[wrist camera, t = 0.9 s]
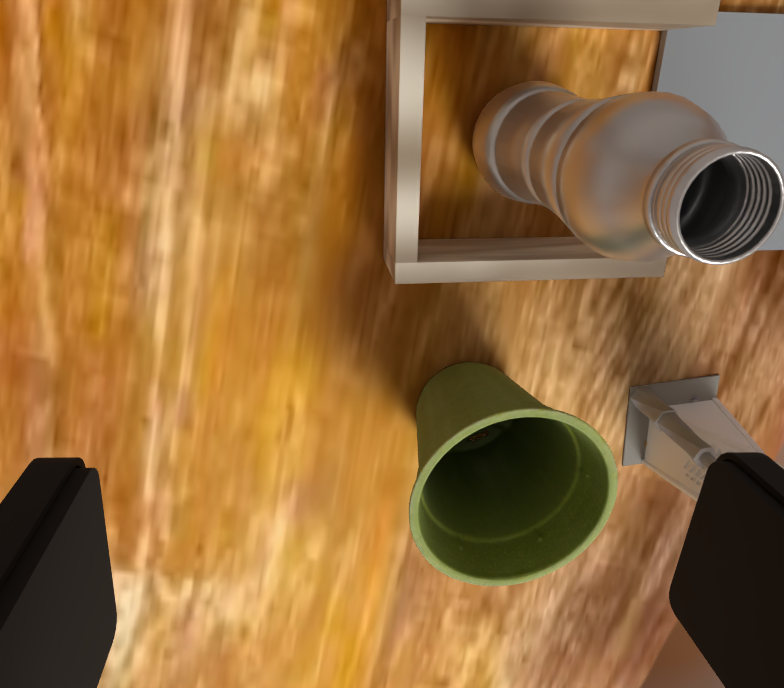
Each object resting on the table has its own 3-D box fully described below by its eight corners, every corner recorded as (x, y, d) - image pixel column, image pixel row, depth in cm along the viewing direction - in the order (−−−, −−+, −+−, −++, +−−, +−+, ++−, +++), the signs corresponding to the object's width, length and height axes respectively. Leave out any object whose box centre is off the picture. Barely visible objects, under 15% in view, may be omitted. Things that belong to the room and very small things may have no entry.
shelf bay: (387, -4, 33) (401, -15, 28) (666, 6, 35) (720, -2, 31) (383, 258, 39) (395, 283, 34) (622, 253, 41) (663, 276, 36)
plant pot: (577, 385, 45) (660, 479, 35) (469, 497, 48) (517, 614, 37) (458, 293, 40) (513, 369, 30) (348, 422, 43) (364, 531, 33)
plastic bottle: (503, 55, 35) (724, 44, 17) (592, 119, 37) (873, 170, 19) (442, 158, 37) (584, 247, 19) (530, 213, 39) (734, 340, 21)
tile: (665, 10, 35) (671, 9, 35) (882, 18, 37) (891, 17, 37) (623, 250, 41) (627, 253, 40) (813, 246, 43) (819, 248, 42)
